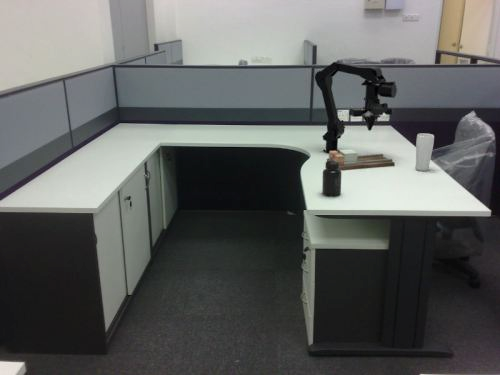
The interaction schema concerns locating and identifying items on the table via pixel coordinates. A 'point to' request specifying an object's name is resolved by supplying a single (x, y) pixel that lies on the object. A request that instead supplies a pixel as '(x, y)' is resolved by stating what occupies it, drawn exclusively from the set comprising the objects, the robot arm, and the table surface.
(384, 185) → the table surface
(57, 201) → the table surface
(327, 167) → the supplement bottle
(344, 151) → the block
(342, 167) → the track
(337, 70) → the robot arm
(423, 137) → the drinking glass
